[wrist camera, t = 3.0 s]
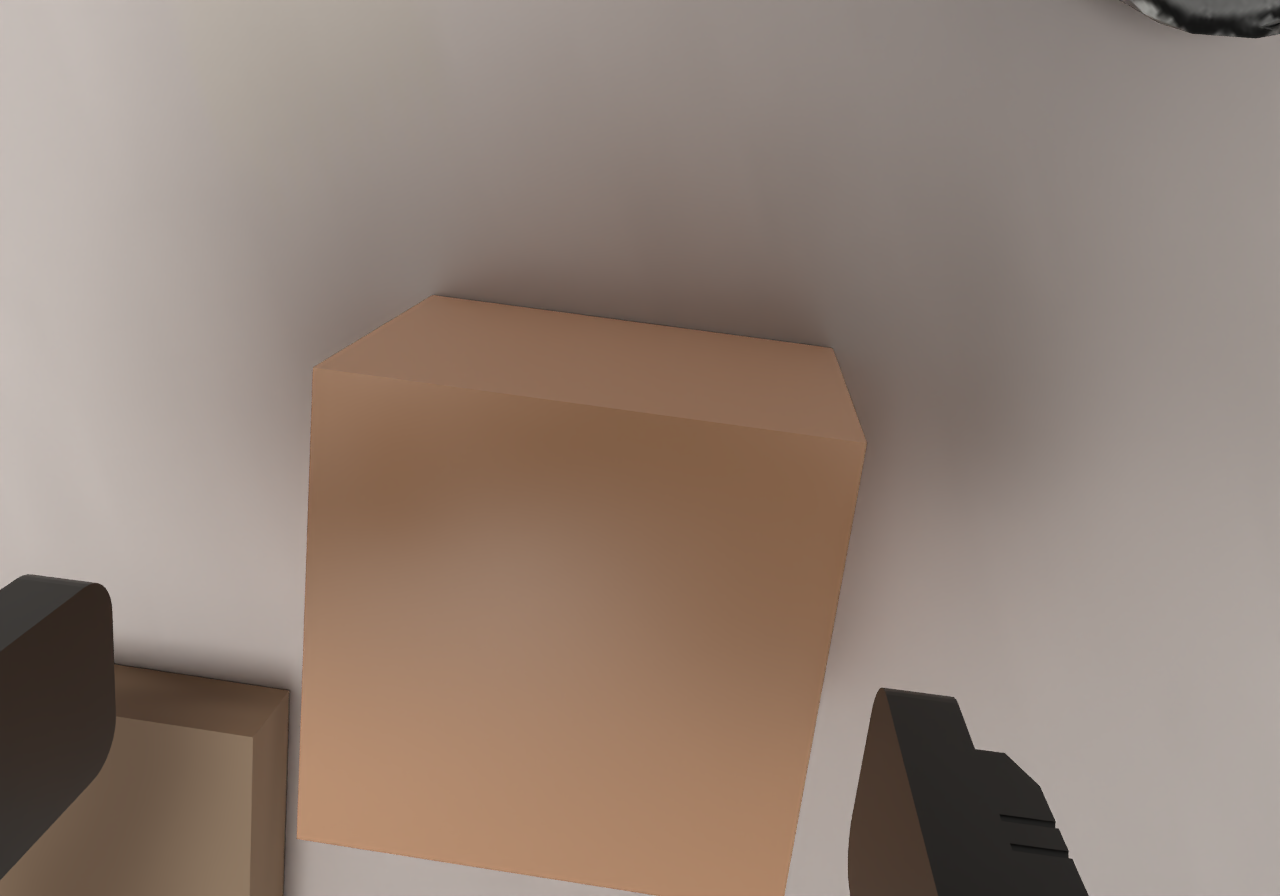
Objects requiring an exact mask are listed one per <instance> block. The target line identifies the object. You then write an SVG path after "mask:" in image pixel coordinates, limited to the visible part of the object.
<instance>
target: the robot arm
mask: <svg viewBox="0 0 1280 896" xmlns="http://www.w3.org/2000/svg"><path fill="white" fill-rule="evenodd" d="M115 725H116V701H115V673H114V645H113V617H112V604H111V599H110V596H109V593H108V591H107V590H106V588H105V587H104V586H103V585H101V584H99V583H92V582H84V581H77V580H69V579H61V578H54V577H46V576H39V575H29V574H27V575H23V576H21V577H19V578H17V579H16V580H14V581H13V582H11V583H10V584H8V585H7V586H5V587H4V588H3V589H1V590H0V880H1V879H2V878H3V877H4V876H5V875H6V874H7V873H8V871H9V870H10V869H11V868H12V867H13V866H14V865H15V864H16V863H17V862H18V861H19V860H20V859H21V858H22V856H23V855H24V854H25V853H26V852H27V851H28V850H29V849H30V848H31V847H32V846H33V845H34V844H35V842H36V841H37V840H38V839H39V838H40V837H41V836H42V835H43V834H44V833H45V832H46V831H47V830H48V829H49V827H50V826H51V825H52V824H53V823H54V822H55V821H56V820H57V819H58V818H59V817H60V816H61V815H62V813H63V812H64V811H65V810H66V809H67V808H68V807H69V806H70V805H71V804H72V803H73V802H74V801H75V800H76V798H77V797H78V796H79V795H80V794H81V793H82V792H83V791H84V790H85V789H86V788H87V787H88V786H89V785H90V783H91V782H92V781H93V780H94V779H95V778H96V776H97V775H98V774H99V772H100V771H101V769H102V767H103V765H104V763H105V761H106V759H107V757H108V754H109V751H110V748H111V745H112V741H113V738H114V732H115ZM1068 853H1069V851H1068V849H1067V846H1066V844H1065V842H1064V840H1063V837H1062V835H1061V833H1060V831H1059V829H1056V828H1055V819H1054V817H1053V815H1052V813H1051V810H1050V808H1049V806H1048V804H1047V801H1046V799H1045V797H1044V795H1043V792H1042V790H1041V788H1040V786H1039V785H1038V784H1037V783H1036V782H1035V781H1034V780H1033V779H1032V778H1031V777H1029V776H1028V775H1027V774H1026V773H1025V772H1024V771H1023V770H1022V769H1021V768H1020V767H1019V766H1018V765H1017V764H1016V763H1015V762H1014V761H1013V760H1012V759H1011V758H1010V757H1008V756H1007V755H1006V754H1005V753H999V752H992V751H984V750H977V749H975V748H974V745H973V743H972V740H971V737H970V735H969V732H968V729H967V727H966V724H965V721H964V718H963V716H962V713H961V710H960V708H959V705H958V703H957V701H956V699H955V698H954V697H949V696H942V695H934V694H926V693H919V692H911V691H904V690H896V689H888V688H880V689H879V691H878V692H877V695H876V697H875V700H874V704H873V708H872V713H871V718H870V724H869V729H868V734H867V740H866V745H865V750H864V756H863V761H862V766H861V772H860V777H859V782H858V788H857V793H856V798H855V804H854V809H853V814H852V820H851V827H850V836H849V848H848V880H849V889H850V896H1088V893H1087V891H1086V889H1085V887H1084V884H1083V882H1082V880H1081V878H1080V875H1079V873H1078V871H1077V869H1076V866H1075V864H1074V862H1073V860H1072V859H1069V858H1068Z"/></svg>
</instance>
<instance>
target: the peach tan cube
mask: <svg viewBox="0 0 1280 896" xmlns="http://www.w3.org/2000/svg"><path fill="white" fill-rule="evenodd" d="M866 447H867V441H866V439H865V436H864V433H863V430H862V428H861V425H860V422H859V419H858V417H857V414H856V411H855V408H854V406H853V403H852V400H851V397H850V395H849V392H848V389H847V386H846V384H845V381H844V378H843V375H842V373H841V370H840V367H839V364H838V362H837V359H836V356H835V353H834V351H833V348H828V347H821V346H813V345H806V344H798V343H791V342H783V341H776V340H768V339H760V338H753V337H745V336H738V335H730V334H723V333H715V332H708V331H700V330H693V329H685V328H678V327H670V326H662V325H655V324H647V323H640V322H632V321H625V320H617V319H610V318H602V317H595V316H587V315H580V314H572V313H564V312H557V311H549V310H542V309H534V308H527V307H519V306H512V305H504V304H497V303H489V302H482V301H474V300H467V299H459V298H451V297H444V296H436V295H432V296H430V297H428V298H427V299H425V300H423V301H422V302H420V303H418V304H417V305H415V306H414V307H412V308H410V309H409V310H407V311H405V312H404V313H402V314H400V315H399V316H397V317H395V318H394V319H392V320H390V321H389V322H387V323H385V324H384V325H382V326H381V327H379V328H377V329H376V330H374V331H372V332H371V333H369V334H367V335H366V336H364V337H362V338H361V339H359V340H357V341H356V342H354V343H352V344H351V345H349V346H348V347H346V348H344V349H343V350H341V351H339V352H338V353H336V354H334V355H333V356H331V357H329V358H328V359H326V360H324V361H323V362H321V363H319V364H318V365H316V366H315V367H313V380H312V409H311V438H310V467H309V496H308V525H307V554H306V583H305V612H304V641H303V670H302V699H301V728H300V757H299V786H298V815H297V839H301V840H307V841H313V842H320V843H326V844H333V845H339V846H345V847H352V848H358V849H364V850H371V851H377V852H383V853H390V854H396V855H402V856H409V857H415V858H422V859H428V860H434V861H441V862H447V863H453V864H460V865H466V866H472V867H479V868H485V869H491V870H498V871H504V872H511V873H517V874H523V875H530V876H536V877H542V878H549V879H555V880H561V881H568V882H574V883H580V884H587V885H593V886H599V887H606V888H612V889H619V890H625V891H631V892H638V893H644V894H650V895H657V896H784V894H785V888H786V883H787V877H788V872H789V867H790V861H791V856H792V850H793V845H794V839H795V834H796V828H797V823H798V817H799V812H800V807H801V801H802V796H803V790H804V785H805V779H806V774H807V768H808V763H809V757H810V752H811V747H812V741H813V736H814V730H815V725H816V719H817V714H818V708H819V703H820V697H821V692H822V687H823V681H824V676H825V670H826V665H827V659H828V654H829V648H830V643H831V637H832V632H833V627H834V621H835V616H836V610H837V605H838V599H839V594H840V588H841V583H842V577H843V572H844V567H845V561H846V556H847V550H848V545H849V539H850V534H851V528H852V523H853V517H854V512H855V507H856V501H857V496H858V490H859V485H860V479H861V474H862V468H863V463H864V457H865V452H866Z"/></svg>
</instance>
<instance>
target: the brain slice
mask: <svg viewBox="0 0 1280 896" xmlns="http://www.w3.org/2000/svg"><path fill="white" fill-rule="evenodd" d="M1120 1H1122V2H1124V3H1125V4H1127V5H1129V6H1131V7H1132V8H1134V9H1136V10H1137V11H1139V12H1141V13H1143V14H1144V15H1146V16H1148V17H1150V18H1151V19H1153V20H1155V21H1157V22H1158V23H1161V24H1164V25H1167V26H1170V27H1173V28H1177V29H1180V30H1183V31H1186V32H1189V33H1192V34H1205V35H1219V36H1232V37H1246V38H1261V37H1266V36H1271V35H1277V34H1280V0H1120Z"/></svg>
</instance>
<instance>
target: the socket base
mask: <svg viewBox="0 0 1280 896" xmlns="http://www.w3.org/2000/svg"><path fill="white" fill-rule="evenodd" d="M114 673H115V701H116V725H115V732H114V738H113V741H112V745H111V748H110V751H109V754H108V757H107V759H106V761H105V763H104V765H103V767H102V769H101V771H100V772H99V774H98V775H97V776H96V778H95V779H94V780H93V781H92V782H91V783H90V785H89V786H88V787H87V788H86V789H85V790H84V791H83V792H82V793H81V794H80V795H79V796H78V797H77V798H76V800H75V801H74V802H73V803H72V804H71V805H70V806H69V807H68V808H67V809H66V810H65V811H64V812H63V813H62V815H61V816H60V817H59V818H58V819H57V820H56V821H55V822H54V823H53V824H52V825H51V826H50V827H49V829H48V830H47V831H46V832H45V833H44V834H43V835H42V836H41V837H40V838H39V839H38V840H37V841H36V842H35V844H34V845H33V846H32V847H31V848H30V849H29V850H28V851H27V852H26V853H25V854H24V855H23V856H22V858H21V859H20V860H19V861H18V862H17V863H16V864H15V865H14V866H13V867H12V868H11V869H10V870H9V871H8V873H7V874H6V875H5V876H4V877H3V878H2V879H1V880H0V896H283V879H284V846H285V814H286V782H287V749H288V717H289V691H288V690H281V689H275V688H268V687H262V686H255V685H248V684H242V683H235V682H228V681H222V680H215V679H209V678H202V677H195V676H189V675H182V674H175V673H169V672H162V671H156V670H149V669H142V668H136V667H129V666H122V665H116V664H114Z"/></svg>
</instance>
